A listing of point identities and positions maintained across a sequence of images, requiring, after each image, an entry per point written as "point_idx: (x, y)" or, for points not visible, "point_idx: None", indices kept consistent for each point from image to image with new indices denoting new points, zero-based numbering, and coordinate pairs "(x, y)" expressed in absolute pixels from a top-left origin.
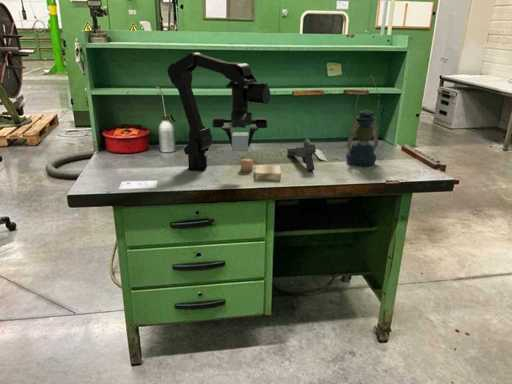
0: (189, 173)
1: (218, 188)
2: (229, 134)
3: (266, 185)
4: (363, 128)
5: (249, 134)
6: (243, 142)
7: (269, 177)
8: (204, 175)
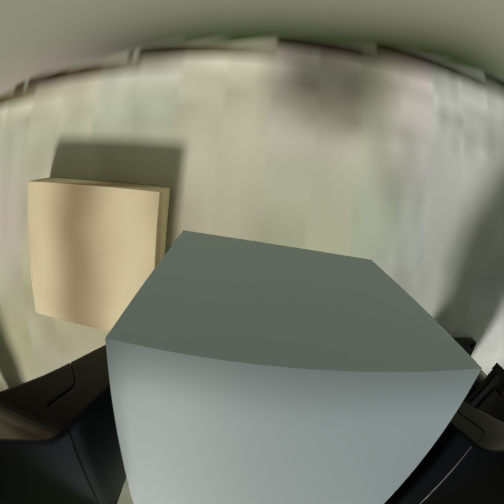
0: (477, 304)
1: (388, 73)
2: (475, 430)
3: (122, 94)
4: None
5: (77, 416)
6: (231, 282)
7: (90, 182)
8: (433, 277)
